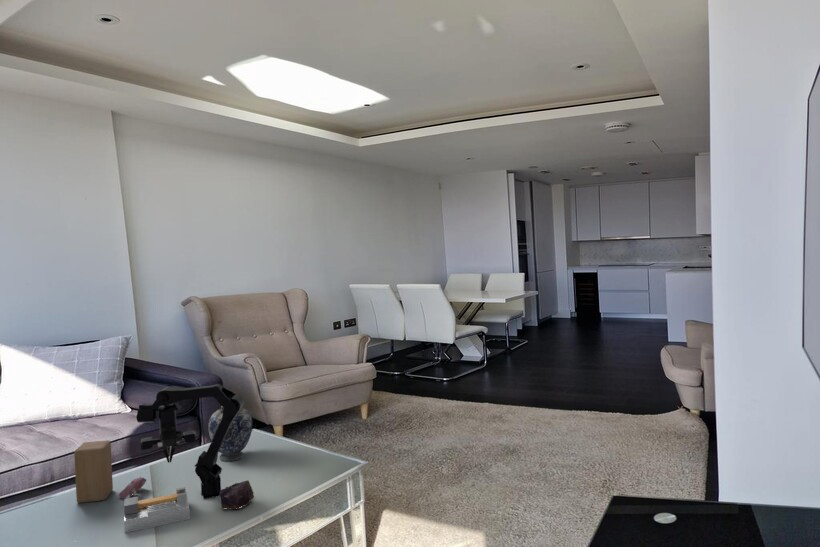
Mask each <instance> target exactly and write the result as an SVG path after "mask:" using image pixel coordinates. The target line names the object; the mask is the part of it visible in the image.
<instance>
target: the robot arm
mask: <svg viewBox="0 0 820 547" xmlns="http://www.w3.org/2000/svg"><path fill="white" fill-rule="evenodd" d="M234 392H235V391H232V390H230V389H228V388H226V387H224V386H223V385H222V384H220V383H216V384H211V385H204V386H194V387H178V386H166V387H165V388H162V389H161V390H160V391H158V392H157V394H156V397H155V401H154V402H152V403H141V404H139V405H138V410H137V413H136V416H135V417H136V421H137V423H139V424H141V423H144V424H145V423H156V422H157V420H159V422H158V423H159V438H153V436H148V437H142V438H141V439H140V450H141V451H145V450H150V449H152V448H153V446H154V445H155V446H156V445H157V449H158V450H161V451H162V452H163V454H164V456H165V458H166V461H167V463H172V461H173V460H172V459H173V456H174V454H175V451H176V449H177V447H180V445H181V443H180V442H181V441H184V442H185V443H187V444H188V443H192V442H193V443H194V442H197V437H196V433H195V431H194V430H187V431H182V430H177V414H176V411H178V410H180V409H181V408H182V405H180V404H179V403H178V402H181V401H186V400H194V399H195V400H196V399H202V398H212V397H213V398H214V399H215V400H216V402H218V404H219V405H220V407H221V406H223V407H224V409H223V415H222V420H221V422H220V424H219V426H218V429H217V431H216V433H215V435H214V437H213V440H212V441H211V442H210V444H209V446H208V449H207V451H205V450H204V451H203V452H201V454H200V455H199V456H198V458H197V462H196V463H195V465H194V468H195V469H194V472H195V474H196V476H197V477H198V478H199V479H200V495H201V496H202V498H203V499H205V500H206V499H210V498H216V496H217V497H220V490H222V485H221V484H222V482H221V474H222V471H223V468H222V467H221V466H220V465H219V464H218V463H217V462H218V459H219V458H218V457H219V453H220V452H219V449H220V447H221V445H222V443H223V441H224V439H225V436H226V434H227V432H228V430H229V428H230V425H231V423H232V421H233V419H234V418H235V417H236V415H237V414H238V412H239V411H240V410H241V408H243V407H244V405H245V399H244V397H243V396H242V395H240V394H239V395H236V394H235V393H236V392H235V393H234ZM182 432H183V434H182ZM168 447H170V448H169V452H168Z"/></svg>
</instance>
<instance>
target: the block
mask: <svg viewBox="0 0 820 547" xmlns="http://www.w3.org/2000/svg"><path fill="white" fill-rule="evenodd" d="M111 444H112V443H111V441H110V440H98V441H85V442H83V443H82V444H81V445H80V446H78V447H77V448H76V449H75V450H74V451H73V453H74V455H73V456H74V458H73V459H74V471H75V472H74V474H75V495H76V496H75V497H76V502H77V504H80V503H89V502H90V503H92V502H101V500H102V501H105V500H106V499H107V498H108V497H109V495H111V494H110V493H112V491H113V489H114V484H113V464H112V463H113V462H112V460H113V459H112V445H111Z"/></svg>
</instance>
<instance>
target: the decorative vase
mask: <svg viewBox="0 0 820 547" xmlns="http://www.w3.org/2000/svg"><path fill="white" fill-rule="evenodd" d="M233 392H234V393H235V394H236V395H240V394H239V393H237V392H236V391H233ZM223 409H224V407H223V406H221V405H220V409H216V411H215V412H213V413H212V414H211V416H210V417H209V419H208V420H209V421H208V434H209V438H210V441H211V442H212V440H213V437H214V435H215V433H216V431H217V429H218V426H219V424H220V422H221V420H222V415H223ZM252 432H253V417H252V414H251V413H250V411H248V410H247V409H245V408H243V407H242V408H241V410H240V411H239V412H238V414H237V415H236V417H235V418H234V419H233V421H232V423H231V425H230V428H229V430H228V432H227V434H226V436H225V439H224V441H223V443H222V445H221V447H220V449H219V452H218V453H220V454H219V456H218V457H219V458H218V459H219V461H220V462H225V461H226V462H228V461H229V462H236V461H239V460H241V459H243V458H244V456H245V453H244V452H243V450H244V449H245V448H246V446H248V443H249V441H250V439H251V436H252ZM226 462H225V463H226ZM229 462H228V463H229Z"/></svg>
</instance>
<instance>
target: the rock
mask: <svg viewBox="0 0 820 547" xmlns="http://www.w3.org/2000/svg"><path fill="white" fill-rule="evenodd" d="M254 498H255V494H254V491H253V487H252V485H251V482H250V481H249V480H244V481H240V482H236V483H233V484H232V485H228V486H226V487H225V488H223V489H222V488H221V490H220V496H219V499H220V505H221V508H222V509H223V508H227V509H226V510H229V509H228V508H231V509H232V510H235V509H236V508H239V507H241V506H243V505H246V504H247V505H250V502H251V501H252V500H253V499H254ZM247 505H246V506H247ZM239 509H240V508H239Z"/></svg>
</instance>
